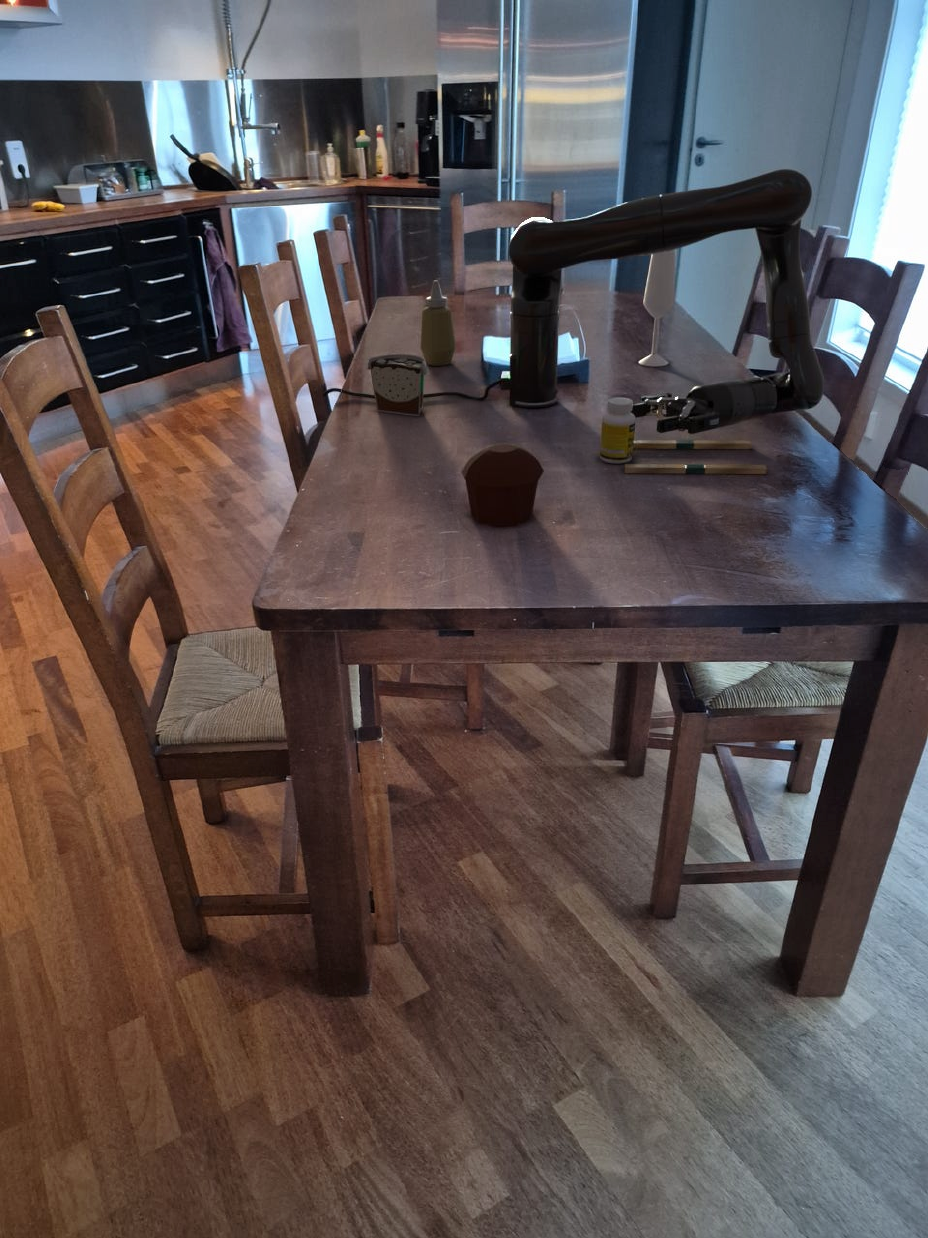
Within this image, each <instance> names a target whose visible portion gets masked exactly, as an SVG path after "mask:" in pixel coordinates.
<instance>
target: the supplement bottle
mask: <svg viewBox="0 0 928 1238" xmlns="http://www.w3.org/2000/svg"><path fill="white" fill-rule="evenodd" d="M633 404H634V401H633V399H631V398H627V397H612V398H609V399H608V400H607V407H606V409H607V410H608V411H606V412H605V413H604V414H603V415H602V418H601V431H600V444H599V459H600V460H601V461H602V462H604V463H608V464H616V465H617V464H619V465H620V464H628V463H629V462H631V461H632V459H633V453H634V449H633V444H634V440H635V434H636V433H635V431H636V419H637V418H635V416H634V415H633V414H632V413H631V411H632V408H633Z"/></svg>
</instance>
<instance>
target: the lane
mask: <svg viewBox="0 0 928 1238" xmlns="http://www.w3.org/2000/svg"><path fill="white" fill-rule="evenodd" d="M634 449H635V450H636V449H642V450H649V449H652V450H653V449H657V450H658V449H660V450H661V449H662V450H663V449H664V450H666V449H667V450H668V449H669V450H674V449H675V450H684V449H685V450H751V449H752V442H751V441H750V440H685V439H684V440H682V439H681V440H676V439H675V440H668V439H667V440H661V439H660V440H658V439H657V440H656V439H655V440H653V439H651V440H650V439H649V440H648V439H647V440H644V439H643V440H641V439H640V440H636V439H634V444H633V450H634ZM767 470H768V468H767V466H766V465H765V464H675V463H674V464H673V463H672V464H668V463H667V464H666V463H665V464H664V463H663V464H662V463H661V464H660V463H659V464H657V463H655V464H653V463H651V464H650V463H646V464H645V463H641V464H640V463H624V473H625V474H678V475H679V474H681V475H683V474H685V475H686V474H690V475H691V474H694V475H695V474H699V475H700V474H702V475H704V474H705V475H708V474H709V475H767Z"/></svg>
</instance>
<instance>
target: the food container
mask: <svg viewBox="0 0 928 1238" xmlns="http://www.w3.org/2000/svg"><path fill="white" fill-rule="evenodd" d="M366 370H367V371H369V370H370V376H371V382H372V389H373V395H375V399H374V400H375V406H376V412H382V413H388V414H396V415H404V416H411V417H412V416H413V417H421V416H422V415H423V411H424V410H423V409H424V398H423V394H424V393H425V392H424V391H425V389H424V388H425V376H426V375H427V374H428V373H429V371H428V366H427V363H426V361H425V359H424V357H422V356H419V355H415V354H406V353H405V354H404V353H394V354H393V353H392V354H384V355H378V356H373V357H370V358H369V359H368V362H367V368H366Z"/></svg>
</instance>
